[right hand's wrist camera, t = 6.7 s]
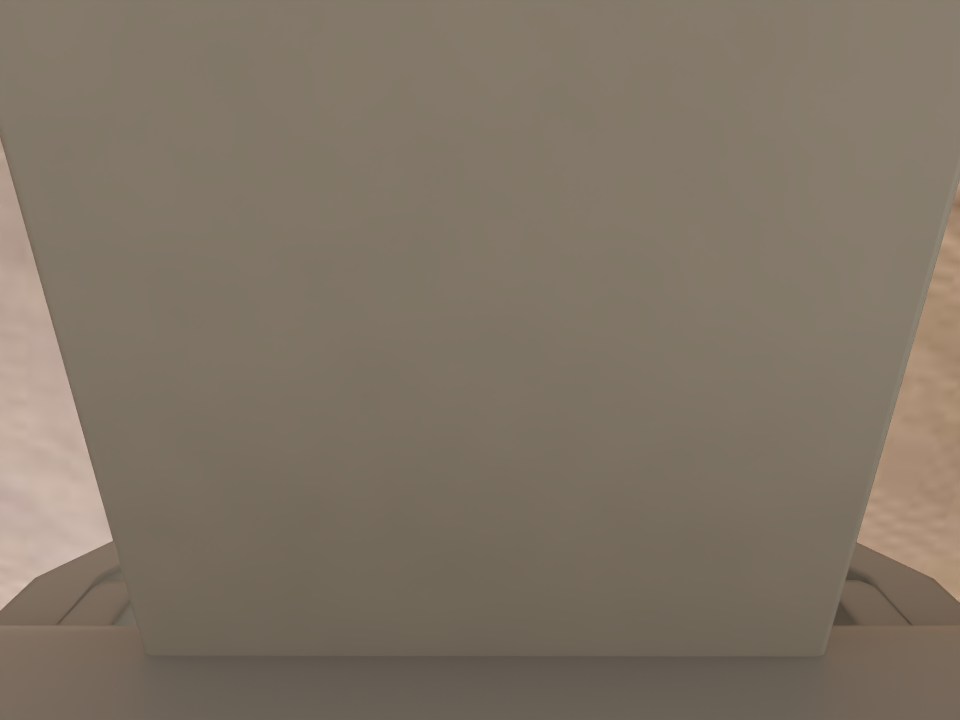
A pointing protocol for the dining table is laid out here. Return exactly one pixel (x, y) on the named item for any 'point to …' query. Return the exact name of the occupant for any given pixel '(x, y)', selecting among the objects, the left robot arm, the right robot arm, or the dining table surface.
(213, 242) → the box
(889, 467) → the dining table surface
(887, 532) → the dining table surface
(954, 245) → the dining table surface
